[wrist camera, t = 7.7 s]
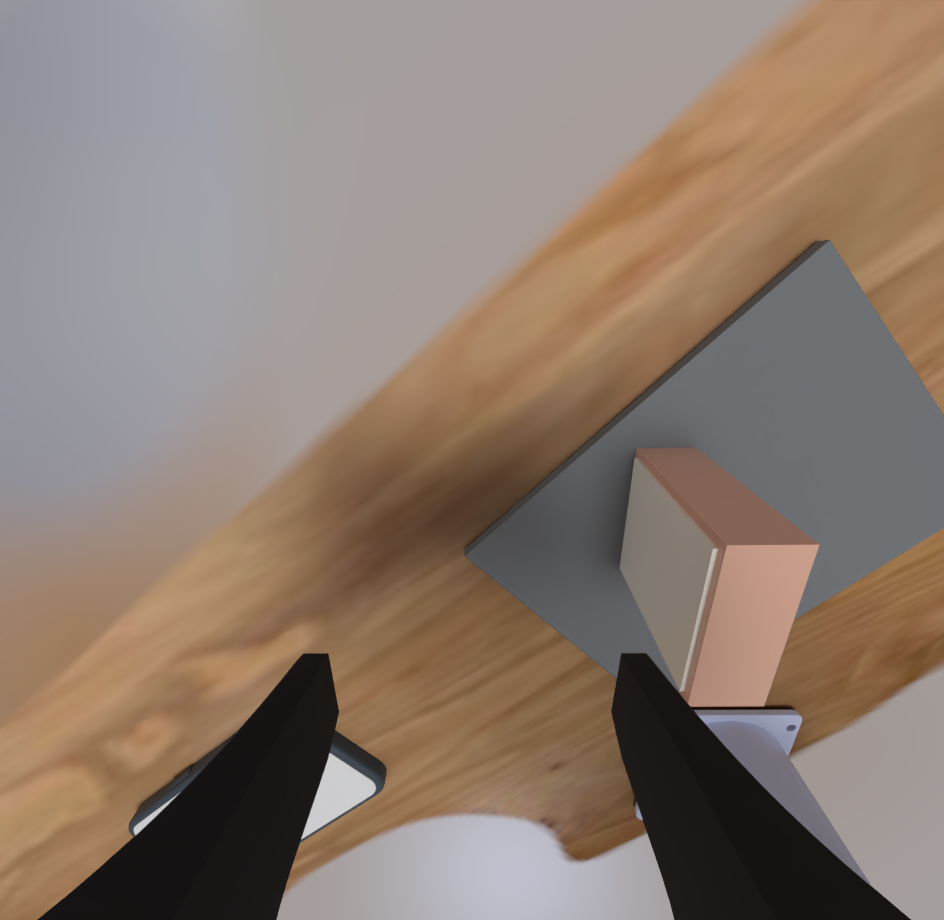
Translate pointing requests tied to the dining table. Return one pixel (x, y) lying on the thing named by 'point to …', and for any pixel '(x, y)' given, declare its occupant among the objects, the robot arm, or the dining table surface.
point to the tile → (712, 575)
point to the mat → (743, 457)
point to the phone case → (339, 792)
